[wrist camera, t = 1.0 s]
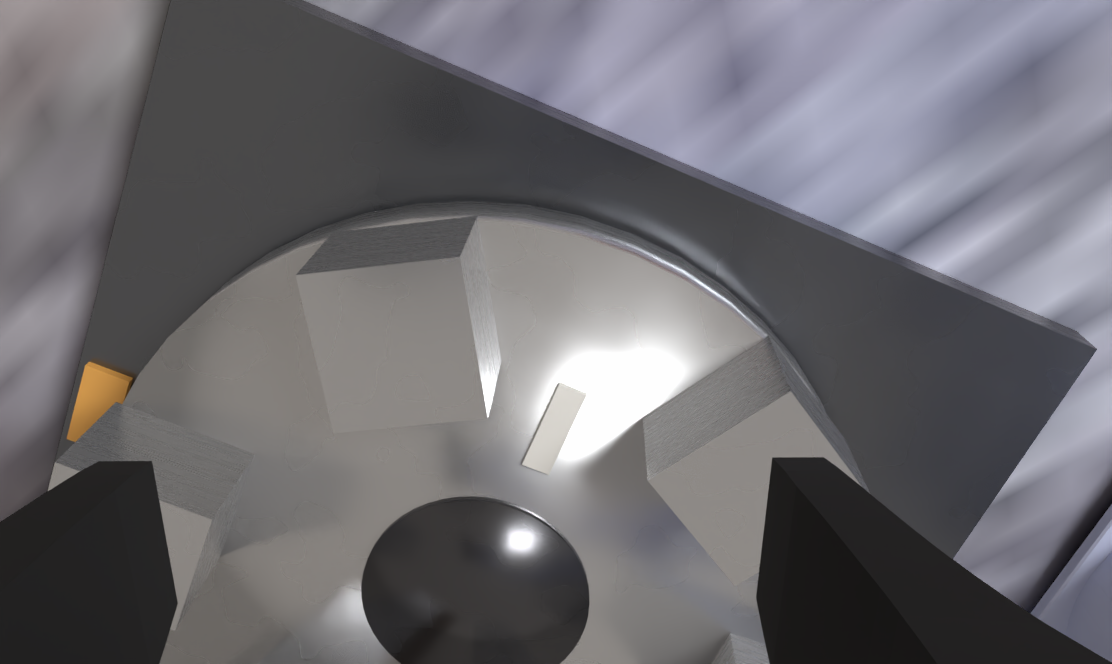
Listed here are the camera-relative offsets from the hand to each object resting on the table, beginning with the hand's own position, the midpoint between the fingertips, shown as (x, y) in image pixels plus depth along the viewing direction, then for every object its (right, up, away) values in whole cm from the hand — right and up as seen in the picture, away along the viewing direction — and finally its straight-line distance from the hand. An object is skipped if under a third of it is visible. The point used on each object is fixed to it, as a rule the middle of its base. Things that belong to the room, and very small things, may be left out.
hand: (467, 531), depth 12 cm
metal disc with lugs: (-1, -3, +12) cm, 12 cm away
